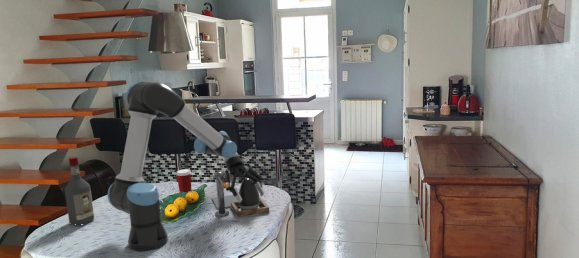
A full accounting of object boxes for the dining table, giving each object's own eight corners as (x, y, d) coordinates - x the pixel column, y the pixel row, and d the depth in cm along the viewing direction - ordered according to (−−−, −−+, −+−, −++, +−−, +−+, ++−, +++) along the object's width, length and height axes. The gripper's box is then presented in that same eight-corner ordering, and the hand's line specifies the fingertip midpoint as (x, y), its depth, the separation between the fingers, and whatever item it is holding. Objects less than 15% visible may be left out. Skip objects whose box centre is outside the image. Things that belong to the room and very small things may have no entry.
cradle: (237, 217, 206) (237, 212, 205) (231, 207, 220) (230, 202, 219) (269, 212, 210) (269, 207, 210) (261, 202, 224) (260, 197, 224)
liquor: (66, 223, 209) (57, 159, 203) (83, 216, 216) (75, 154, 211) (80, 226, 204) (71, 161, 199) (97, 219, 212) (88, 156, 207)
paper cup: (195, 194, 240) (193, 168, 238) (191, 199, 233) (188, 173, 230) (181, 194, 241) (178, 169, 239) (176, 199, 234) (173, 173, 231)
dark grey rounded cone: (250, 215, 208) (248, 183, 205) (234, 211, 214) (231, 179, 211) (265, 208, 216) (263, 177, 213) (248, 204, 222) (246, 174, 219)
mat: (217, 209, 217) (217, 208, 217) (212, 199, 232) (211, 197, 232) (250, 204, 222) (250, 203, 222) (243, 194, 237) (242, 193, 237)
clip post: (216, 217, 207) (213, 180, 204) (214, 212, 213) (211, 176, 210) (230, 215, 209) (227, 178, 206) (227, 210, 215) (224, 174, 212)
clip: (213, 175, 209) (213, 171, 209) (223, 174, 210) (222, 170, 210) (221, 188, 189) (221, 184, 189) (232, 187, 191) (231, 183, 190)
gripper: (212, 160, 211) (232, 200, 202) (255, 150, 225) (276, 187, 217) (207, 169, 216) (226, 208, 207) (250, 159, 231) (270, 195, 222)
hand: (252, 198), depth 212 cm, fingers open, 12 cm apart
